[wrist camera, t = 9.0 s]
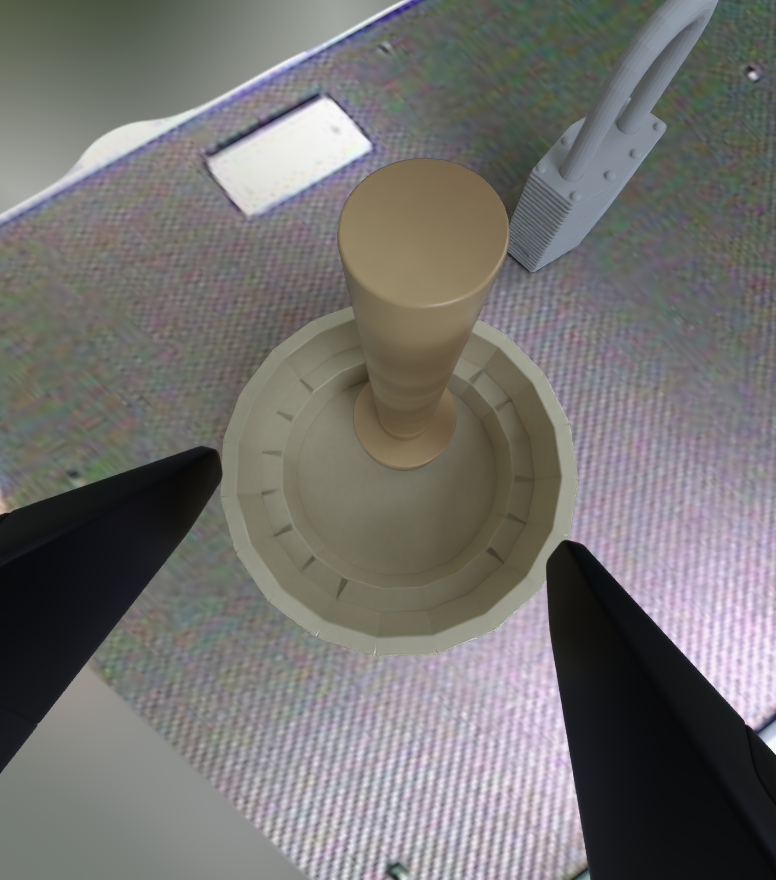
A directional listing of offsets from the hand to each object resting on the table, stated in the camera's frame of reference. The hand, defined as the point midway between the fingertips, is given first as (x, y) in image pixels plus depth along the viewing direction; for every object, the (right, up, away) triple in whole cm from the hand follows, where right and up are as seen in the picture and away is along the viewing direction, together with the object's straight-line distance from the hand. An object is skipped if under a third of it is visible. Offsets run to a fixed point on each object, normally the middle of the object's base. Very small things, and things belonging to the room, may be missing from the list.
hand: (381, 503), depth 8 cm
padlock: (+11, +16, +13) cm, 23 cm away
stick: (+1, +3, +10) cm, 10 cm away
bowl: (+1, 0, +10) cm, 10 cm away
